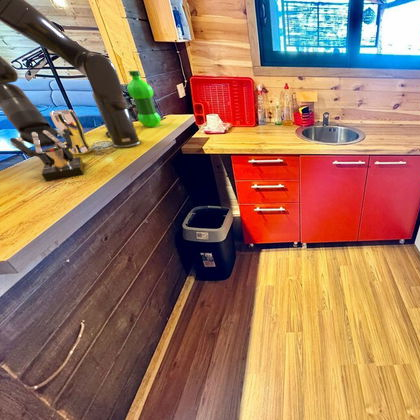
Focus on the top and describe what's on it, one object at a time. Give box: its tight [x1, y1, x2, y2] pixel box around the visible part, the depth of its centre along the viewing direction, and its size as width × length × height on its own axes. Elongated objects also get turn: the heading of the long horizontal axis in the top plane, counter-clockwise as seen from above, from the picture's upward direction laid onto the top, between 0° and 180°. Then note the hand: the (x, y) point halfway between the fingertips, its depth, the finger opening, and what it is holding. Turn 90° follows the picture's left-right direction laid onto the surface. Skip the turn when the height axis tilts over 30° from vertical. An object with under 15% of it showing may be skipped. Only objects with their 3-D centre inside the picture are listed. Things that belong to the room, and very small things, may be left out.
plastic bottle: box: [126, 70, 162, 128], centre depth 125 cm, size 10×10×25 cm
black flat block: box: [41, 156, 84, 182], centre depth 84 cm, size 11×9×3 cm
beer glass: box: [49, 109, 92, 155], centre depth 96 cm, size 7×7×15 cm
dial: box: [42, 147, 71, 169], centre depth 81 cm, size 4×4×6 cm
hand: (61, 162), depth 81 cm, fingers closed on dial, 4 cm apart
